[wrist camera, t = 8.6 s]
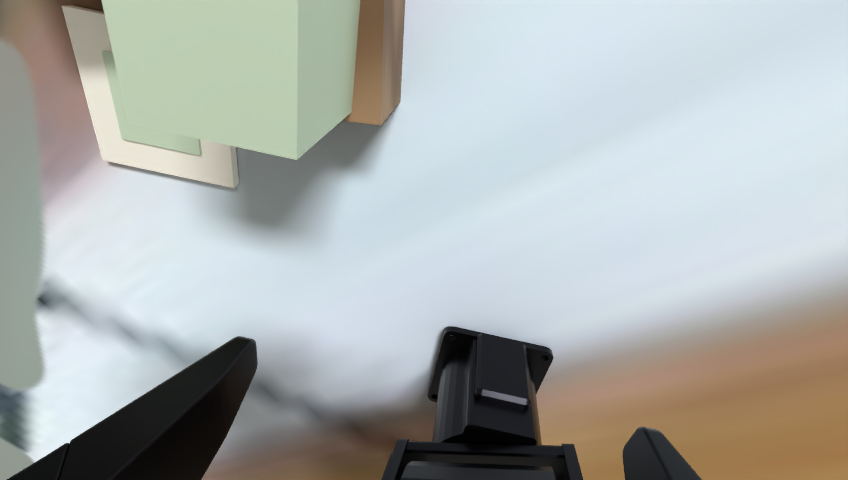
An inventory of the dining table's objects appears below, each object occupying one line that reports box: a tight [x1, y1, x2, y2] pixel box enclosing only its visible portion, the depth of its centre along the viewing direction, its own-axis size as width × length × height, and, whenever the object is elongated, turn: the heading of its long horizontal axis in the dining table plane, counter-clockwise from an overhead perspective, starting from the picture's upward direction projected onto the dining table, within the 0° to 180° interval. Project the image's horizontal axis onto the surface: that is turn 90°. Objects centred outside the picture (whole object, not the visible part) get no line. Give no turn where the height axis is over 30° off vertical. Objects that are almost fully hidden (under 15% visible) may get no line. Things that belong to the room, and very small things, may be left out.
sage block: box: [102, 0, 360, 160], centre depth 11 cm, size 4×4×5 cm
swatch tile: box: [62, 5, 239, 188], centre depth 19 cm, size 7×7×1 cm
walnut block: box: [342, 0, 405, 125], centre depth 15 cm, size 6×6×4 cm
